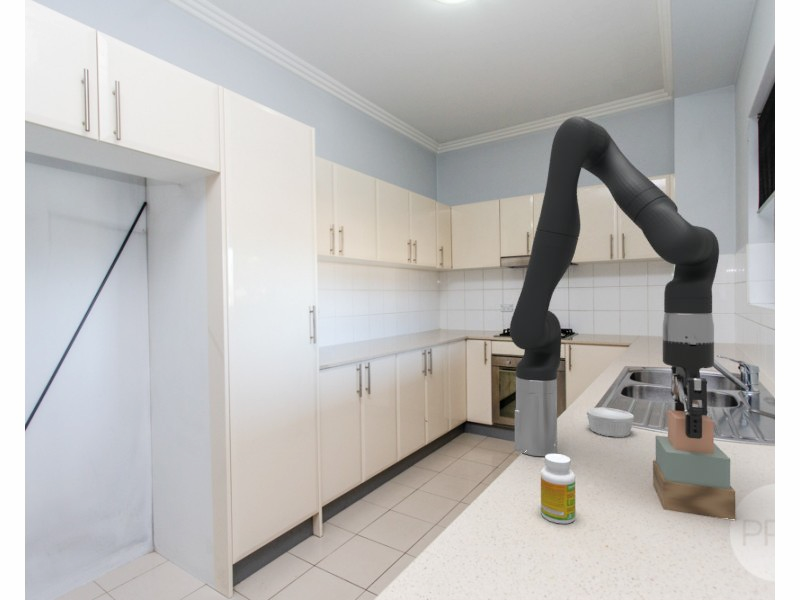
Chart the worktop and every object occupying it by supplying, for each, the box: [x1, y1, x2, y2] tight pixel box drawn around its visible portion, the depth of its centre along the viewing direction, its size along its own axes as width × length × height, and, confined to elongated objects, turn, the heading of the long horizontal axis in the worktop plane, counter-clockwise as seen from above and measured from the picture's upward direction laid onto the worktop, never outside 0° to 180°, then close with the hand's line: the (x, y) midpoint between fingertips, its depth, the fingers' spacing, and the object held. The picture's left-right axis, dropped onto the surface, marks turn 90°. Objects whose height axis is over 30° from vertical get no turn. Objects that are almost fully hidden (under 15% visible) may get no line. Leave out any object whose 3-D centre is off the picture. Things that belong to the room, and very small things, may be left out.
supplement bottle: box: [540, 453, 576, 525], centre depth 70 cm, size 5×5×10 cm
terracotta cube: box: [667, 409, 715, 454], centre depth 75 cm, size 6×6×6 cm
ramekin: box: [586, 407, 635, 438], centre depth 113 cm, size 11×11×5 cm
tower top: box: [655, 435, 731, 490], centre depth 75 cm, size 9×9×5 cm
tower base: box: [652, 459, 736, 520], centre depth 75 cm, size 10×10×5 cm
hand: (687, 430), depth 75 cm, fingers open, 8 cm apart
